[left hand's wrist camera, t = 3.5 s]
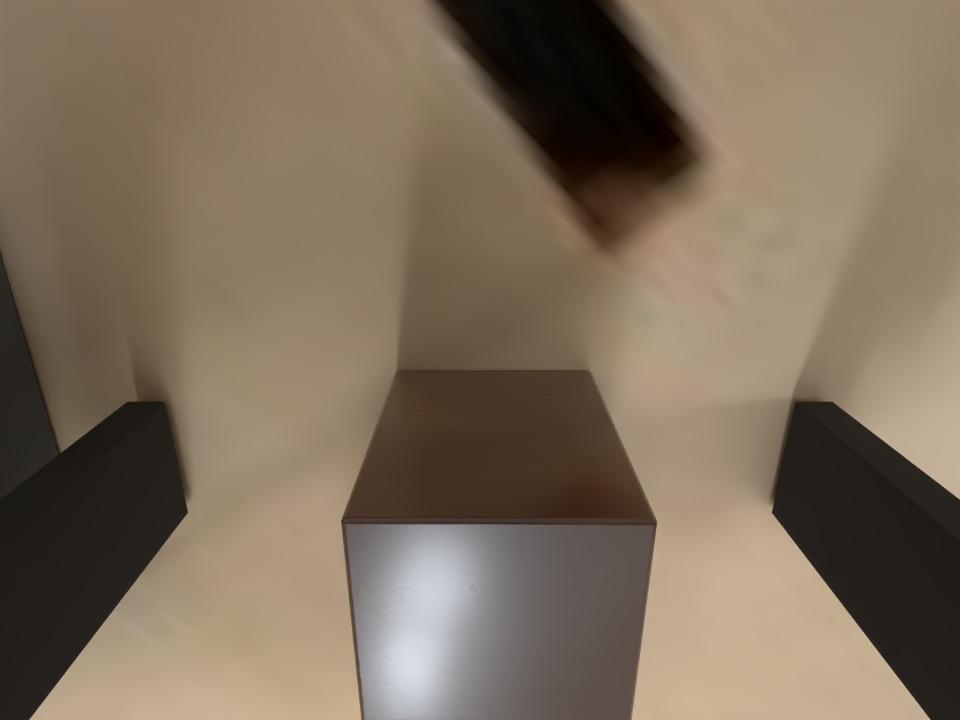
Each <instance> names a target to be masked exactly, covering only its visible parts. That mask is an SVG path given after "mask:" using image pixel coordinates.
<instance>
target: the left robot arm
mask: <svg viewBox="0 0 960 720" xmlns="http://www.w3.org/2000/svg"><path fill="white" fill-rule="evenodd" d="M187 513H188V511H187V506H186V501H185V497H184V492H183V487H182V483H181V478H180V473H179V469H178V464H177V459H176V455H175V450H174V445H173V440H172V436H171V431H170V426H169V422H168V417H167V412H166V408H165V403H164V402H127V403H125V404H124V405H123V406H122V407H120V408H119V409H118V410H116V411H115V412H114V413H112V414H111V415H110V416H109V417H107V418H106V419H105V420H103V421H102V422H101V423H99V424H98V425H97V426H96V427H94V428H93V429H92V430H90V431H89V432H88V433H86V434H85V435H84V436H82V437H81V438H80V439H79V440H77V441H76V442H75V443H73V444H72V445H71V446H69V447H68V448H67V449H66V450H64V451H63V452H62V453H60V454H59V455H58V456H56V457H55V458H54V459H53V460H51V461H50V462H49V463H47V464H46V465H45V466H43V467H42V468H41V469H39V470H38V471H37V472H36V473H34V474H33V475H32V476H30V477H29V478H28V479H26V480H25V481H24V482H23V483H21V484H20V485H19V486H17V487H16V488H15V489H13V490H12V491H11V492H10V493H8V494H7V495H6V496H4V497H3V498H2V499H0V720H29V719H30V718H31V717H32V715H33V714H34V713H35V711H36V710H37V709H38V708H39V706H40V705H41V704H42V702H43V701H44V700H45V698H46V697H47V696H48V695H49V693H50V692H51V691H52V689H53V688H54V687H55V685H56V684H57V683H58V681H59V680H60V679H61V678H62V676H63V675H64V674H65V672H66V671H67V670H68V668H69V667H70V666H71V664H72V663H73V662H74V661H75V659H76V658H77V657H78V655H79V654H80V653H81V651H82V650H83V649H84V648H85V646H86V645H87V644H88V642H89V641H90V640H91V638H92V637H93V636H94V634H95V633H96V632H97V631H98V629H99V628H100V627H101V625H102V624H103V623H104V621H105V620H106V619H107V617H108V616H109V615H110V614H111V612H112V611H113V610H114V608H115V607H116V606H117V604H118V603H119V602H120V601H121V599H122V598H123V597H124V595H125V594H126V593H127V591H128V590H129V589H130V587H131V586H132V585H133V584H134V582H135V581H136V580H137V578H138V577H139V576H140V574H141V573H142V572H143V571H144V569H145V568H146V567H147V565H148V564H149V563H150V561H151V560H152V559H153V557H154V556H155V555H156V554H157V552H158V551H159V550H160V548H161V547H162V546H163V544H164V543H165V542H166V540H167V539H168V538H169V537H170V535H171V534H172V533H173V531H174V530H175V529H176V527H177V526H178V525H179V524H180V522H181V521H182V520H183V518H184V517H185V516H186V514H187ZM772 513H773V515H774V516H775V517H776V519H777V520H778V521H779V522H780V524H781V525H782V526H783V528H784V529H785V530H786V532H787V533H788V534H789V535H790V537H791V538H792V539H793V541H794V542H795V543H796V545H797V546H798V547H799V549H800V550H801V551H802V552H803V554H804V555H805V556H806V558H807V559H808V560H809V562H810V563H811V564H812V565H813V567H814V568H815V569H816V571H817V572H818V573H819V575H820V576H821V577H822V579H823V580H824V581H825V582H826V584H827V585H828V586H829V588H830V589H831V590H832V592H833V593H834V594H835V596H836V597H837V598H838V599H839V601H840V602H841V603H842V605H843V606H844V607H845V609H846V610H847V611H848V612H849V614H850V615H851V616H852V618H853V619H854V620H855V622H856V623H857V624H858V626H859V627H860V628H861V629H862V631H863V632H864V633H865V635H866V636H867V637H868V639H869V640H870V641H871V642H872V644H873V645H874V646H875V648H876V649H877V650H878V652H879V653H880V654H881V656H882V657H883V658H884V659H885V661H886V662H887V663H888V665H889V666H890V667H891V669H892V670H893V671H894V672H895V674H896V675H897V676H898V678H899V679H900V680H901V682H902V683H903V684H904V686H905V687H906V688H907V689H908V691H909V692H910V693H911V695H912V696H913V697H914V699H915V700H916V701H917V703H918V704H919V705H920V706H921V708H922V709H923V710H924V712H925V713H926V714H927V716H928V717H929V718H930V719H931V720H960V500H959V499H958V498H957V497H956V496H954V495H953V494H952V493H950V492H949V491H948V490H946V489H945V488H944V487H942V486H941V485H940V484H939V483H937V482H936V481H935V480H933V479H932V478H931V477H929V476H928V475H927V474H926V473H924V472H923V471H922V470H920V469H919V468H918V467H916V466H915V465H914V464H913V463H911V462H910V461H909V460H907V459H906V458H905V457H903V456H902V455H901V454H899V453H898V452H897V451H896V450H894V449H893V448H892V447H890V446H889V445H888V444H886V443H885V442H884V441H883V440H881V439H880V438H879V437H877V436H876V435H875V434H873V433H872V432H871V431H870V430H868V429H867V428H866V427H864V426H863V425H862V424H860V423H859V422H858V421H857V420H855V419H854V418H853V417H851V416H850V415H849V414H847V413H846V412H845V411H843V410H842V409H841V408H840V407H838V406H837V405H836V404H834V403H833V402H795V407H794V412H793V416H792V421H791V426H790V430H789V435H788V440H787V444H786V449H785V454H784V458H783V463H782V468H781V473H780V477H779V482H778V487H777V491H776V496H775V501H774V505H773V510H772Z"/></svg>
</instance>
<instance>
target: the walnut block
mask: <svg viewBox="0 0 960 720" xmlns="http://www.w3.org/2000/svg"><path fill="white" fill-rule="evenodd" d="M341 524H342V534H343V544H344V554H345V564H346V573H347V583H348V593H349V603H350V613H351V623H352V633H353V642H354V652H355V662H356V672H357V682H358V692H359V701H360V711H361V720H631V719H632V711H633V704H634V696H635V688H636V681H637V673H638V665H639V657H640V650H641V642H642V634H643V627H644V619H645V611H646V603H647V596H648V588H649V580H650V573H651V565H652V557H653V549H654V542H655V534H656V526H657V521H656V518H655V516H654V514H653V512H652V509H651V507H650V505H649V502H648V500H647V498H646V496H645V493H644V491H643V489H642V487H641V484H640V482H639V480H638V478H637V475H636V473H635V471H634V469H633V466H632V464H631V462H630V460H629V457H628V455H627V453H626V451H625V448H624V446H623V444H622V442H621V439H620V437H619V435H618V433H617V430H616V428H615V426H614V424H613V421H612V419H611V417H610V414H609V412H608V410H607V408H606V405H605V403H604V401H603V399H602V396H601V394H600V392H599V390H598V387H597V385H596V383H595V381H594V378H593V376H592V374H591V372H536V371H398V372H396V374H395V376H394V379H393V382H392V384H391V387H390V390H389V393H388V395H387V398H386V401H385V403H384V406H383V409H382V412H381V414H380V417H379V420H378V422H377V425H376V428H375V431H374V433H373V436H372V439H371V441H370V444H369V447H368V450H367V452H366V455H365V458H364V460H363V463H362V466H361V469H360V471H359V474H358V477H357V479H356V482H355V485H354V487H353V490H352V493H351V496H350V498H349V501H348V504H347V506H346V509H345V512H344V515H343V517H342V520H341Z"/></svg>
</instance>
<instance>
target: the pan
mask: <svg viewBox="0 0 960 720" xmlns="http://www.w3.org/2000/svg"><path fill="white" fill-rule="evenodd" d="M56 456H58V451H57V448H56V444H55V441H54V438H53V434H52V431H51V427H50V424H49V421H48V417H47V414H46V410H45V407H44V404H43V400H42V397H41V393H40V390H39V387H38V383H37V380H36V376H35V373H34V370H33V366H32V363H31V359H30V356H29V353H28V349H27V346H26V342H25V339H24V336H23V332H22V329H21V325H20V322H19V319H18V315H17V312H16V308H15V305H14V302H13V298H12V295H11V291H10V288H9V285H8V281H7V278H6V274H5V271H4V268H3V264H2V261H1V257H0V499H2V498H3V497H4V496H6V495H7V494H8V493H10V492H11V491H12V490H13V489H15V488H16V487H17V486H19V485H20V484H21V483H23V482H24V481H25V480H26V479H28V478H29V477H30V476H32V475H33V474H34V473H36V472H37V471H38V470H39V469H41V468H42V467H43V466H45V465H46V464H47V463H49V462H50V461H51V460H53V459H54V458H55V457H56Z"/></svg>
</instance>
